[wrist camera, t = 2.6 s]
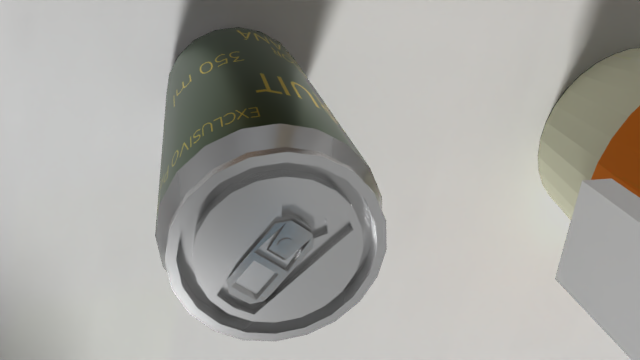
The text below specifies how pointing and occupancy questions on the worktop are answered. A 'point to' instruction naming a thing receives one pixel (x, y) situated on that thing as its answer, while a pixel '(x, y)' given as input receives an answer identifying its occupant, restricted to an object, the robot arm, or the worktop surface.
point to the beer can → (261, 194)
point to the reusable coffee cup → (594, 131)
